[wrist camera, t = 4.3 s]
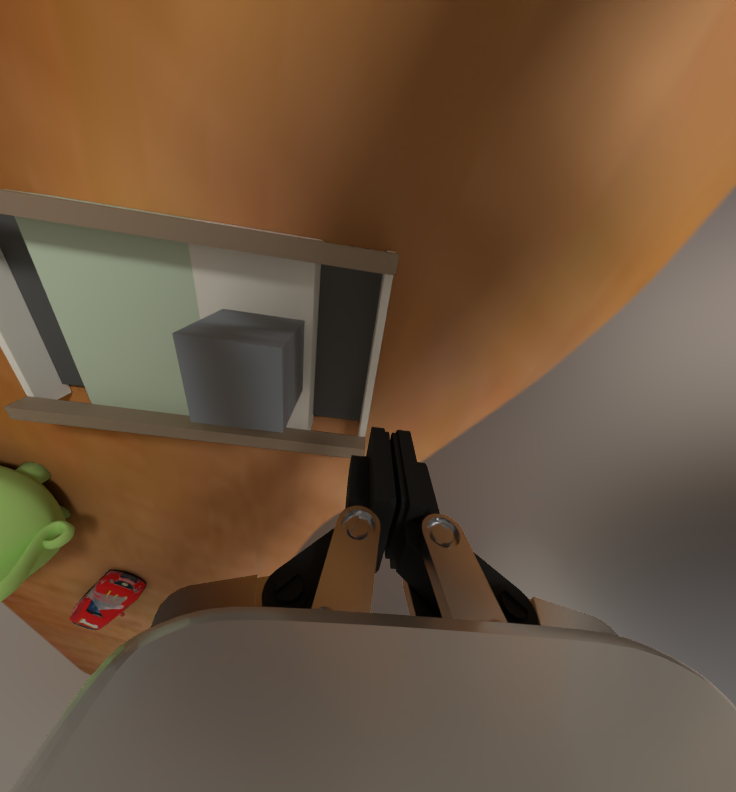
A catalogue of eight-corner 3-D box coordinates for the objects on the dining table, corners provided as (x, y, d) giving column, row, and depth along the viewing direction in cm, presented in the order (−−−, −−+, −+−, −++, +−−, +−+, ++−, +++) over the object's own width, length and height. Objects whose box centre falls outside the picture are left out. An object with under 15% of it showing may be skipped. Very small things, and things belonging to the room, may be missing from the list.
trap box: (394, 251, 18) (399, 254, 14) (364, 428, 24) (362, 459, 21) (-31, 182, 16) (-141, 167, 13) (65, 391, 23) (10, 418, 20)
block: (304, 320, 17) (282, 348, 13) (302, 389, 20) (283, 432, 15) (223, 308, 17) (172, 333, 13) (231, 380, 20) (190, 421, 15)
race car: (116, 560, 36) (89, 595, 32) (156, 577, 38) (134, 612, 34) (78, 596, 40) (50, 629, 37) (115, 609, 42) (93, 642, 39)
